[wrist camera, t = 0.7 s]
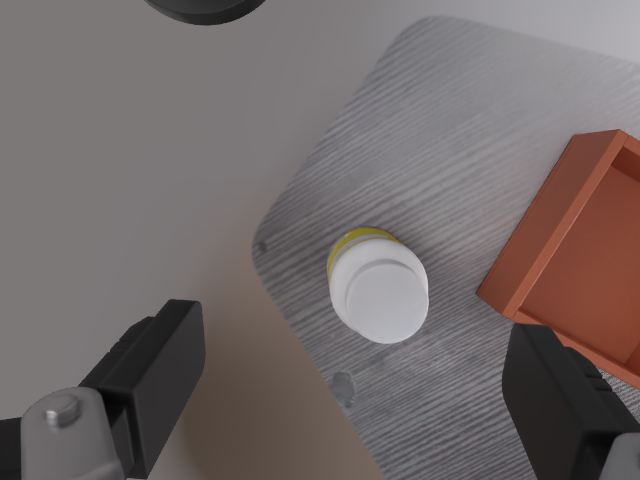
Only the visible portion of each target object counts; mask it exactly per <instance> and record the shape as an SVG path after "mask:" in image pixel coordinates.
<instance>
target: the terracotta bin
mask: <svg viewBox="0 0 640 480" xmlns="http://www.w3.org/2000/svg"><path fill="white" fill-rule="evenodd" d="M476 295H478V296H479V297H480V298H481V299H483V300H484V301H485V302H486V303H488V304H489V305H490V306H491V307H493V308H494V309H495V310H496V311H498V312H499V313H500V314H501V315H503V316H505V317H507V318H508V319H511V320H512V321H514V322H516V323H524V324H539V325H548V326H550V327H551V328H552V330H553V331H554V333H555V334H556V335H557V337H558V338H559V340H560V341H561V342H562V344H563V345H564V346H566V347H572V348H574V349H575V350H577V351H578V352H579V353H581V354H582V355H584V356H585V357H586V358H588V359H589V360H590V361H591V362H592V363H593V364H594V366H596V367H598V368H600V369H602V370H604V371H605V372H607V373H609V374H611V375H613V376H615V377H616V378H618V379H620V380H622V381H624V382H626V383H627V384H629V385H631V386H633V387H635V388H637V389H638V390H640V141H639V140H637V139H635V138H634V137H632V136H630V135H629V134H627V133H625V132H624V131H622V130H620V129H617V130H609V131H601V132H594V133H586V134H580V135H574V136H573V138H572V140H571V141H570V143H569V145H568V146H567V148H566V149H565V151H564V153H563V154H562V156H561V157H560V159H559V161H558V162H557V164H556V165H555V167H554V169H553V170H552V172H551V173H550V175H549V177H548V178H547V180H546V182H545V183H544V185H543V186H542V188H541V190H540V191H539V193H538V194H537V196H536V198H535V199H534V201H533V202H532V204H531V206H530V207H529V209H528V210H527V212H526V214H525V215H524V217H523V218H522V220H521V222H520V223H519V225H518V227H517V228H516V230H515V231H514V233H513V235H512V236H511V238H510V239H509V241H508V243H507V244H506V246H505V247H504V249H503V251H502V252H501V254H500V255H499V257H498V259H497V260H496V262H495V264H494V265H493V267H492V268H491V270H490V272H489V273H488V275H487V276H486V278H485V280H484V281H483V283H482V284H481V286H480V288H479V289H478V291H477V292H476Z"/></svg>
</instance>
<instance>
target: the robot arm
mask: <svg viewBox="0 0 640 480" xmlns="http://www.w3.org/2000/svg"><path fill="white" fill-rule="evenodd" d="M204 363H205V340H204V327H203V315H202V307H201V304H200V302H199V301H191V300H190V301H189V300H175V299H170V300H169V301H168V302H167V303H166V304H165V305H164V307H163V308H162V309H161V310H160V311H159V313H158V314H157V315H156V316H155V317H149V316H148V317H146V318H144V319H143V320H141V321H139V322H138V323H136V324H134V325H133V326H131V327H130V328H129V329H128V330H127V331H126V333H125V334H124V335H123V336H122V337H121V338H120V341H119V342H117V343H116V344H115V345H114V346H113V347H112V348H111V349H110V352H108V353H107V354H106V355H105V356H104V357H103V359H101V361H100V362H99V363H98V364H97V365H96V366H95V367H94V368H93V370H92V371H91V372H90V373H89V374H88V375H87V376H86V378H85V379H84V380H83V381H82V382H81V383H80V384H79V385H78V387H71V388H66V389H62V390H58V391H56V392H53V393H51V394H48V395H46V396H44V397H43V398H41V399H39V400H38V401H36V402H35V403H34V404H33V405H31V406H30V407H29V409H28V410H27V411H26V412H25V414H24V415H23V417H20V418H12V419H6V420H0V480H126V479H127V478H135V479H147V478H148V476H149V474H150V472H151V470H152V468H153V466H154V464H155V463H156V461H157V459H158V457H159V455H160V453H161V451H162V449H163V447H164V445H165V443H166V441H167V440H168V437H169V436H170V434H171V432H172V430H173V428H174V426H175V424H176V422H177V420H178V419H179V416H180V415H181V413H182V411H183V409H184V407H185V405H186V403H187V401H188V399H189V398H190V396H191V394H192V392H193V390H194V388H195V386H196V384H197V382H198V380H199V378H200V376H201V374H202V371H203V368H204ZM502 392H503V397H504V400H505V403H506V405H507V408H508V410H509V413H510V415H511V417H512V420H513V422H514V424H515V427H516V429H517V432H518V434H519V436H520V439H521V441H522V444H523V446H524V448H525V451H526V453H527V456H528V458H529V460H530V463H531V465H532V467H533V470H534V472H535V475H536V477H537V479H538V480H640V424H639V423H638V422H637V420H636V419H635V418H634V417H633V415H632V414H631V413H630V411H629V410H628V409H627V407H626V406H625V405H624V404H623V402H622V401H621V400H620V398H619V397H618V396H617V394H616V393H615V392H612V388H611V387H610V385H609V384H608V383H607V381H606V380H605V379H602V375H601V374H600V372H599V371H598V370H597V368H596V367H595V366H594V364H593V363H592V362H591V361H590V360H589V359H588V358H586V357H585V356H584V355H582V354H581V353H579V352H578V351H577V350H575V349H574V348H572V347H566V346H564V345H563V344H562V342H561V341H560V340H559V338H558V337H557V335H556V334H555V333H554V331H553V330H552V328H551V327H550V326H548V325H539V324H524V323H516V324H515V325H514V326H513V328H512V331H511V335H510V340H509V345H508V350H507V354H506V359H505V364H504V369H503V374H502Z"/></svg>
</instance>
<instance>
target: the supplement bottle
mask: <svg viewBox="0 0 640 480" xmlns="http://www.w3.org/2000/svg"><path fill="white" fill-rule="evenodd" d="M327 274H328V281H329V290H330V297H331V301H332V304H333V307H334V309H335V312H336V313H337V315H338V316H339V318H340V319H341V320H342V321H343V322H344V323H345V324H346V325H347V326H348V327H349V328H351V329H352V330H354V331H356V332H358V333H360V334H361V335H362V336H363V337H365V338H367V339H369V340H371V341H374V342H377V343H384V344H389V343H396V342H400V341H403V340H405V339H407V338H409V337H410V336H412V335H413V334H414V333H415V332H416V331H417V330H418V329H419V328H420V327H421V325H422V324H423V322H424V320H425V318H426V316H427V312H428V305H429V300H428V279H427V275H426V272H425V269H424V267H423V265H422V263H421V262H420V260H419V259H418V258H417V256H416V255H415V254H414V253H413V252H412V251H411V250H410V249H408V248H407V247H406V246H405V245H403V244H402V243H401V242H400V241H399V240H397V239H396V238H395V237H394V236H392V235H391V234H389V233H388V232H386V231H384V230H382V229H379V228H376V227H369V226H364V227H357V228H354V229H351V230H349V231H347V232H345V233H344V234H342V235H341V236H340V237H339V238H338V239H337V240H336V241H335V242H334V244H333V245H332V247H331V249H330V251H329V254H328V258H327Z"/></svg>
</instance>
